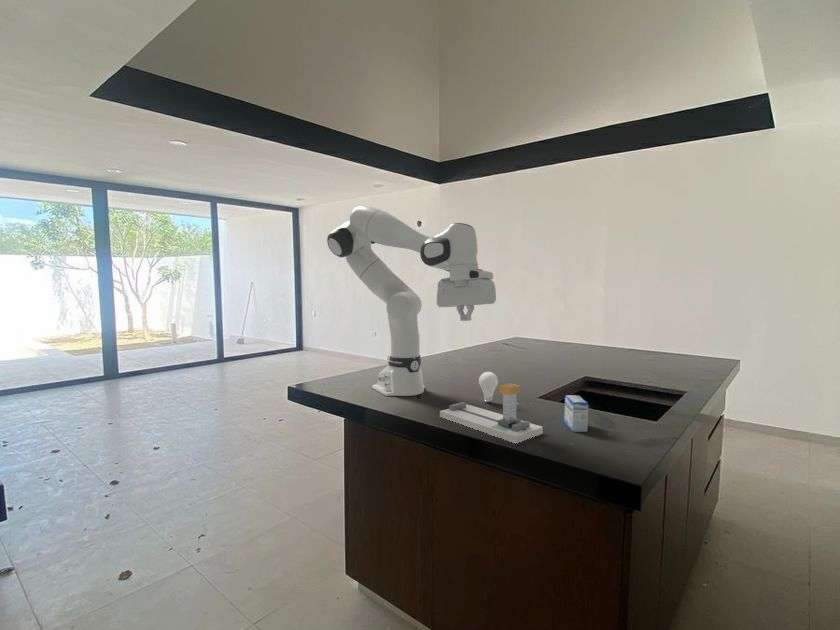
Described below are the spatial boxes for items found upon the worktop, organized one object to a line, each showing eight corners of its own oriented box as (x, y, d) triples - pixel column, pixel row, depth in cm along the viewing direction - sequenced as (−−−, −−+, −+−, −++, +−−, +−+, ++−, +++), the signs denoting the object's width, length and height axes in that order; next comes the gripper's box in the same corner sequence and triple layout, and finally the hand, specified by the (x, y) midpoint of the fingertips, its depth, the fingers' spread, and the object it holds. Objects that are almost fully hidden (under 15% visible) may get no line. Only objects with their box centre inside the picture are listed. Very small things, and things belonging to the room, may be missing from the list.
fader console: (439, 417, 139) (439, 406, 139) (466, 409, 147) (466, 399, 147) (515, 444, 116) (515, 431, 116) (542, 433, 124) (542, 421, 124)
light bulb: (486, 399, 160) (486, 369, 159) (501, 402, 155) (501, 371, 154) (474, 402, 155) (475, 372, 155) (490, 406, 151) (490, 374, 150)
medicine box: (563, 423, 133) (564, 394, 133) (578, 423, 133) (579, 394, 132) (572, 432, 125) (572, 402, 125) (587, 432, 125) (588, 402, 125)
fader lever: (497, 424, 125) (498, 385, 124) (510, 420, 129) (510, 382, 128) (508, 428, 122) (509, 388, 121) (521, 423, 126) (521, 385, 125)
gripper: (431, 278, 140) (433, 322, 139) (486, 271, 126) (488, 319, 126) (443, 279, 144) (445, 321, 144) (497, 272, 131) (499, 319, 130)
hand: (465, 320), depth 135 cm, fingers closed
